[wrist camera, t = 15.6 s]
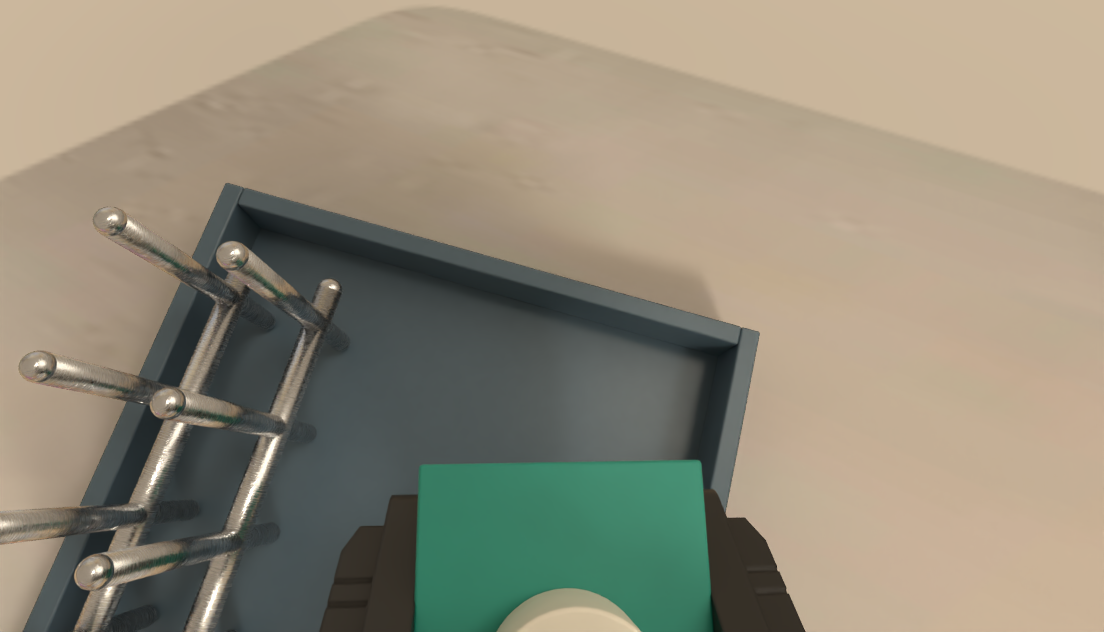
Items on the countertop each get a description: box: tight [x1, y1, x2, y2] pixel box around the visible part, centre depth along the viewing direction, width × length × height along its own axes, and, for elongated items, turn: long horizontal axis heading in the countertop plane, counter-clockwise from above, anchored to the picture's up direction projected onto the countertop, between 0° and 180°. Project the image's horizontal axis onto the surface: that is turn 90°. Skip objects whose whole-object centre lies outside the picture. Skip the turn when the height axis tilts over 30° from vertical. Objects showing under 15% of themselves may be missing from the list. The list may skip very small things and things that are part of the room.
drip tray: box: [23, 183, 760, 632], centre depth 18 cm, size 17×19×3 cm
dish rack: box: [0, 207, 350, 632], centre depth 15 cm, size 3×15×9 cm, turn 165°
